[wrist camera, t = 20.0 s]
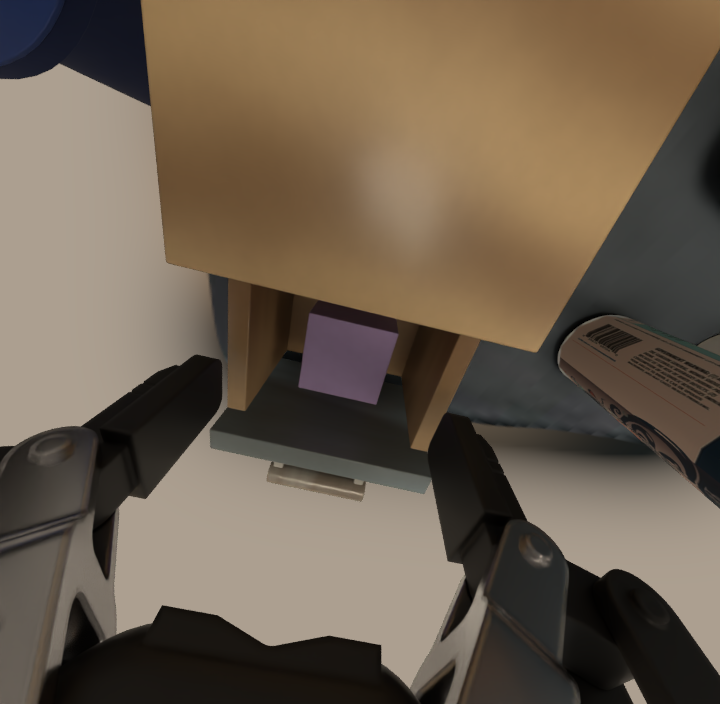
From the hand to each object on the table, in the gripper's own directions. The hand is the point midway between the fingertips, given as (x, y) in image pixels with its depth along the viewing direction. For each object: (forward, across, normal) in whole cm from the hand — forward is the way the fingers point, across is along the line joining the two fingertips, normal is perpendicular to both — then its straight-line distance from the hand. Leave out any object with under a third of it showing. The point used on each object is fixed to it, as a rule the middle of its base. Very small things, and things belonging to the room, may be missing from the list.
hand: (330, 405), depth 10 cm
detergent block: (+7, 0, 0) cm, 7 cm away
